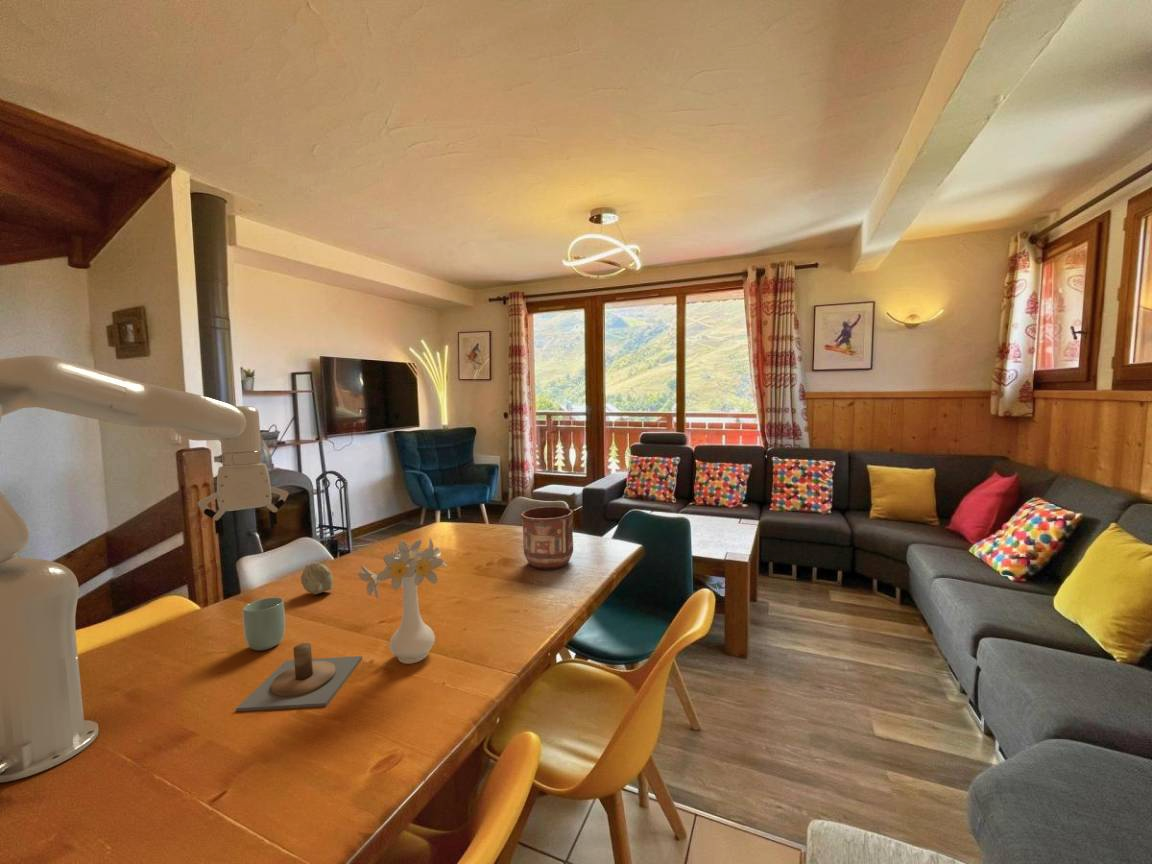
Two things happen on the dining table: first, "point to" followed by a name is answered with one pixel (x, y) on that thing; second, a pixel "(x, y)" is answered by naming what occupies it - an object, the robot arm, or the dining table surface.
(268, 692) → the mat
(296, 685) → the lid
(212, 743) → the dining table surface
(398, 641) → the flower vase
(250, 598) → the dining table surface
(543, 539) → the pottery
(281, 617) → the cup
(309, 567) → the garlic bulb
